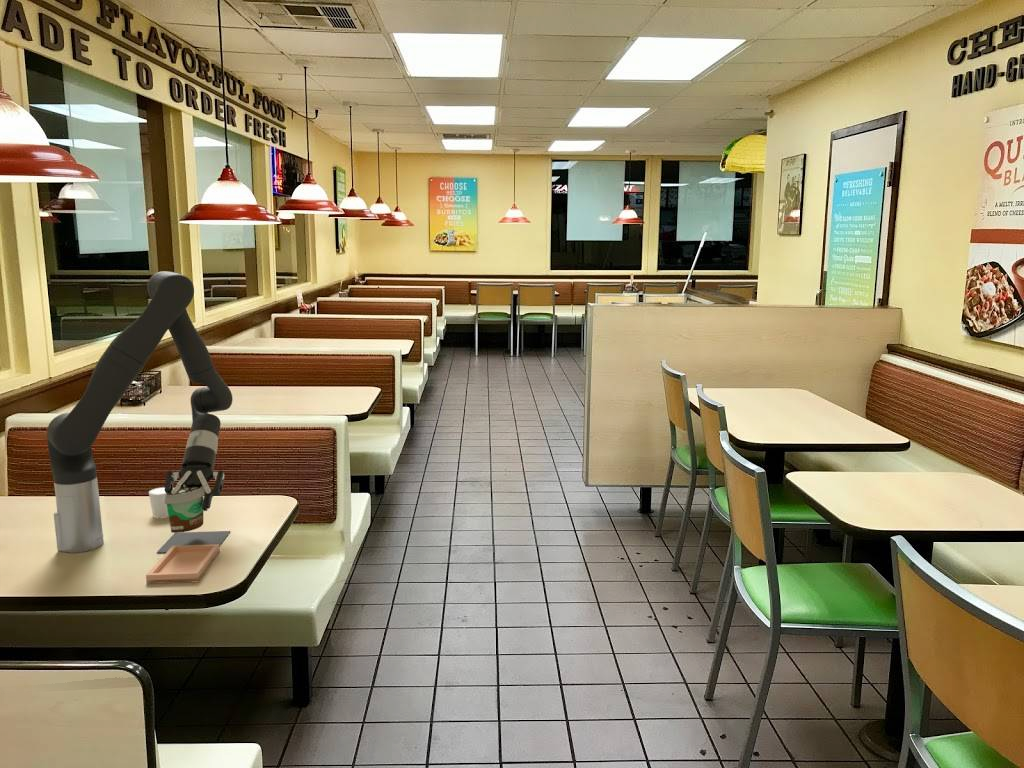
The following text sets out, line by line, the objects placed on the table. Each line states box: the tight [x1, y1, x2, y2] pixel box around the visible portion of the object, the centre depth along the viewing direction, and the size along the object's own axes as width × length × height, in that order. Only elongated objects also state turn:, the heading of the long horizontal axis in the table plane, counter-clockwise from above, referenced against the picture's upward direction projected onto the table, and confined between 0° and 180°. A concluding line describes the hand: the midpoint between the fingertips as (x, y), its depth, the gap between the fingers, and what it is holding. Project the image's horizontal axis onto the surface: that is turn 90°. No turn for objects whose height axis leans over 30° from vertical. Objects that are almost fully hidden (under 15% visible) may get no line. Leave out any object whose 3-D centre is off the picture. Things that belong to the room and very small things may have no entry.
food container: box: [165, 485, 206, 534], centre depth 192 cm, size 12×6×10 cm, turn 170°
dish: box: [145, 544, 221, 585], centre depth 178 cm, size 11×17×2 cm, turn 5°
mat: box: [156, 530, 231, 554], centre depth 193 cm, size 14×13×1 cm
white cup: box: [148, 486, 175, 518], centre depth 213 cm, size 7×7×7 cm
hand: (189, 509), depth 190 cm, fingers closed on food container, 7 cm apart
